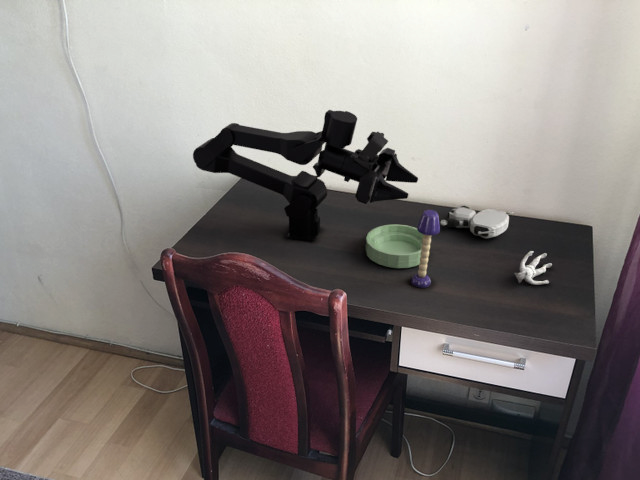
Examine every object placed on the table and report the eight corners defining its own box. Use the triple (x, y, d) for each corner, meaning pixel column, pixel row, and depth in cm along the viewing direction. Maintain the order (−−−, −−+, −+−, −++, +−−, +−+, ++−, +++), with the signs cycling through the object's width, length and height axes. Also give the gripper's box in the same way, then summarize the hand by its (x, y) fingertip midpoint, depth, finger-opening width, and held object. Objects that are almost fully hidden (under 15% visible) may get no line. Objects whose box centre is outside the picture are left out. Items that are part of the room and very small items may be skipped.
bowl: (360, 265, 153) (361, 250, 151) (371, 235, 165) (372, 221, 163) (424, 273, 151) (426, 258, 149) (431, 242, 162) (432, 228, 160)
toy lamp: (424, 274, 150) (431, 205, 141) (438, 284, 147) (446, 214, 138) (406, 281, 148) (413, 211, 139) (420, 291, 145) (428, 220, 136)
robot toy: (436, 234, 167) (495, 247, 160) (437, 217, 165) (497, 230, 158) (457, 215, 176) (514, 227, 169) (458, 198, 174) (516, 210, 166)
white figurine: (559, 277, 152) (545, 285, 142) (539, 286, 155) (524, 295, 145) (542, 245, 153) (527, 252, 143) (523, 255, 156) (506, 262, 146)
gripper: (341, 143, 139) (414, 169, 137) (367, 116, 154) (433, 140, 152) (329, 191, 145) (398, 217, 143) (355, 161, 160) (418, 184, 158)
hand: (412, 188), depth 149 cm, fingers open, 9 cm apart
